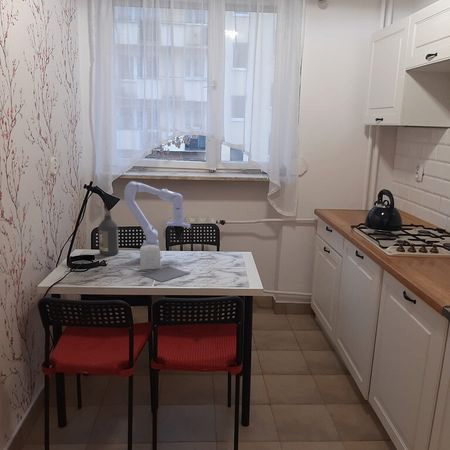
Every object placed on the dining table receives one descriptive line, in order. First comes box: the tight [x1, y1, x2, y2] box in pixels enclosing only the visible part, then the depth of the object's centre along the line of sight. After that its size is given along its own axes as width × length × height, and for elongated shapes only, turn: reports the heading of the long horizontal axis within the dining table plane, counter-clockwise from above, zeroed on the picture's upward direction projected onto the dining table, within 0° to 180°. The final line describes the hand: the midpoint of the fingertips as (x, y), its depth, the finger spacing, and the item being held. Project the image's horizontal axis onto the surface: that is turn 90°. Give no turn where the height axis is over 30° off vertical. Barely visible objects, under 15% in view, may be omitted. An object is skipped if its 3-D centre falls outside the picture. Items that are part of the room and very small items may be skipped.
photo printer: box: [139, 245, 162, 270], centre depth 226 cm, size 10×4×12 cm, turn 98°
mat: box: [140, 265, 190, 283], centre depth 219 cm, size 16×18×1 cm
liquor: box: [98, 203, 119, 257], centre depth 250 cm, size 9×9×30 cm
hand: (178, 239), depth 247 cm, fingers closed
